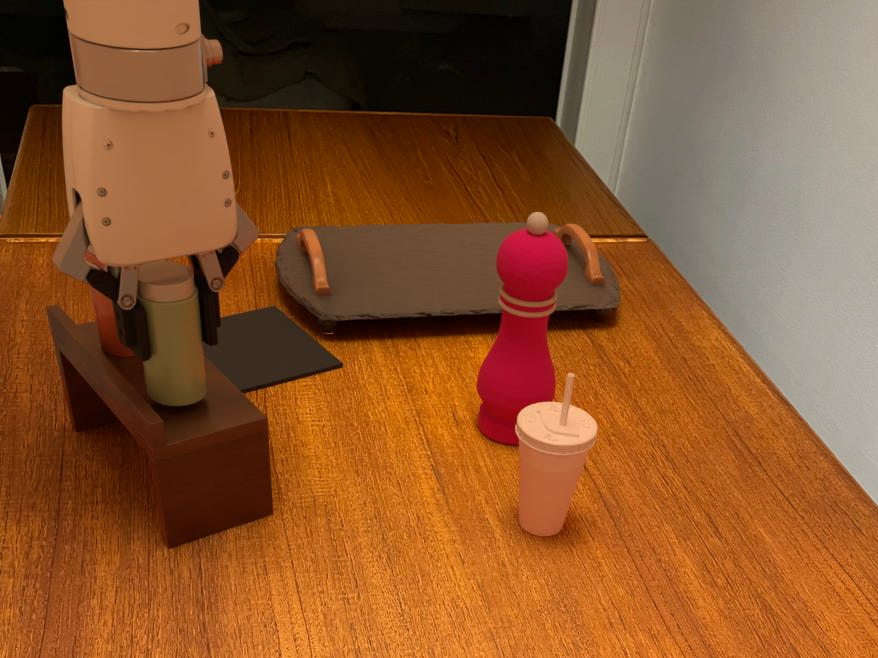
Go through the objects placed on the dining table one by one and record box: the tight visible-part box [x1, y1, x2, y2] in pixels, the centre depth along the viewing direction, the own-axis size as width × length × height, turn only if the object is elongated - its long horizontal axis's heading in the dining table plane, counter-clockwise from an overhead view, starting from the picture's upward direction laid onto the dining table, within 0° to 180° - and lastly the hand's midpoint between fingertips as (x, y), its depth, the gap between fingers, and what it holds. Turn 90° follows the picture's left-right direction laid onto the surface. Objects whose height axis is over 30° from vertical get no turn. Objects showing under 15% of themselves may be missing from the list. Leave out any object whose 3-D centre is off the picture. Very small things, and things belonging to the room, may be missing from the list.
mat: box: [203, 305, 344, 394], centre depth 100 cm, size 14×14×1 cm
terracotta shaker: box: [84, 245, 145, 357], centre depth 78 cm, size 4×4×9 cm
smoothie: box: [515, 372, 599, 537], centre depth 80 cm, size 6×6×14 cm
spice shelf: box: [45, 303, 274, 549], centre depth 81 cm, size 20×9×11 cm, turn 37°
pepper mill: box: [476, 211, 568, 446], centre depth 88 cm, size 7×7×20 cm
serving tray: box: [273, 221, 622, 333], centre depth 113 cm, size 39×23×6 cm, turn 106°
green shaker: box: [137, 260, 207, 406], centre depth 73 cm, size 4×4×9 cm
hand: (171, 342), depth 73 cm, fingers closed on green shaker, 4 cm apart
